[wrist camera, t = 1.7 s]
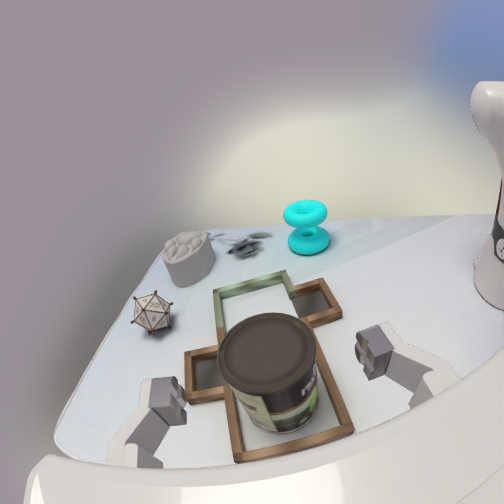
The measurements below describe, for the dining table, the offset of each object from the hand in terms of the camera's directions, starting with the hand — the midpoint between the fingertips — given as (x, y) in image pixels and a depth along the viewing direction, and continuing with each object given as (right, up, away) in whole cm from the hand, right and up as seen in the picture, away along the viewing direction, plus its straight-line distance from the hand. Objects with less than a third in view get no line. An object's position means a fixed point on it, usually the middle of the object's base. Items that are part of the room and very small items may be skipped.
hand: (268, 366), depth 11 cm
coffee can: (+4, -17, +23) cm, 29 cm away
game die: (-19, -10, +41) cm, 47 cm away
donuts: (+13, +6, +54) cm, 56 cm away
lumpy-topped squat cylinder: (-15, 0, +56) cm, 58 cm away
